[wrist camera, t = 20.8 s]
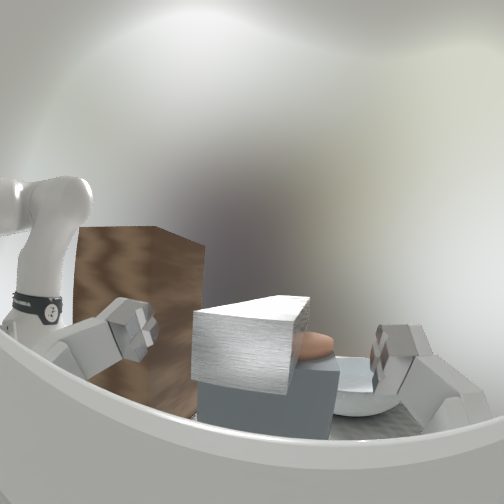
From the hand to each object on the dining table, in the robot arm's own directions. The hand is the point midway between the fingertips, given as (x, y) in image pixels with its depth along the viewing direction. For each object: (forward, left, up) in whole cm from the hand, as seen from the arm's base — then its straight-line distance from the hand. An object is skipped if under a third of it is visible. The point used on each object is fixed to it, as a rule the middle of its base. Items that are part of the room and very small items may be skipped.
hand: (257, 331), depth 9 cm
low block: (-1, +13, -19) cm, 23 cm away
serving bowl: (+11, +37, -20) cm, 44 cm away
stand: (-20, +21, -19) cm, 35 cm away
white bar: (-1, +13, -3) cm, 13 cm away
